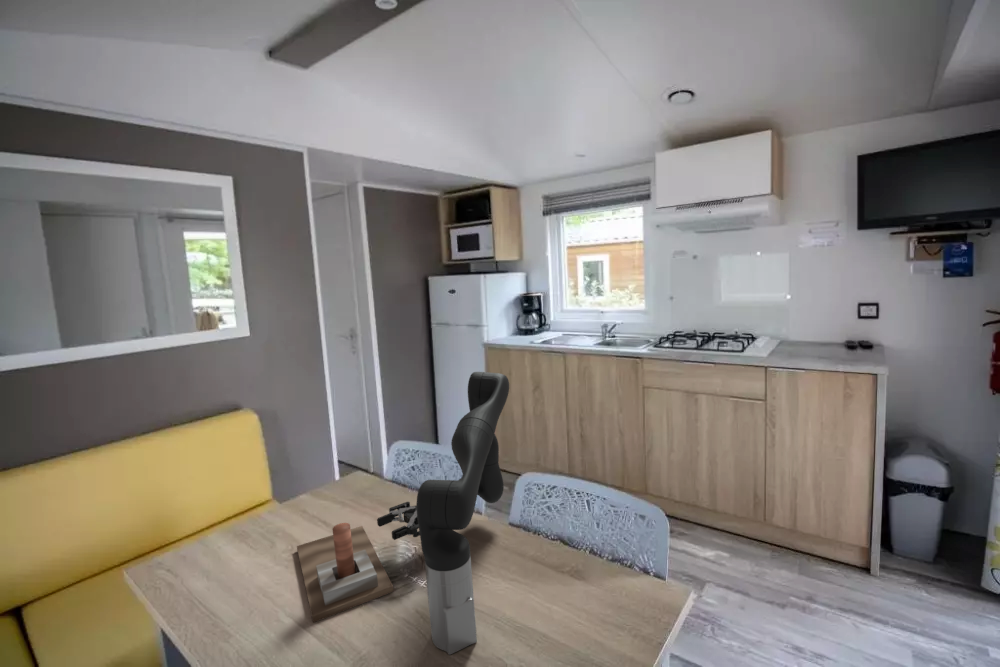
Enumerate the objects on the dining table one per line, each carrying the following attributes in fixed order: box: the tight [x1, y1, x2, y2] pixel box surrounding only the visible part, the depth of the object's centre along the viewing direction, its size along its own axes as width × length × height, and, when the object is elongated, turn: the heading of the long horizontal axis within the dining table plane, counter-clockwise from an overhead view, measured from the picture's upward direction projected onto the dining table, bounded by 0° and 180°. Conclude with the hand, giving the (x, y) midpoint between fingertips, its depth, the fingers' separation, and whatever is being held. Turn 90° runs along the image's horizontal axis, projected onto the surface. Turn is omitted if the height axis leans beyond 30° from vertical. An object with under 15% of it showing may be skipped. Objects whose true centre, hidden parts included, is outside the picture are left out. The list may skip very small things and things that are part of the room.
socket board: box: [296, 525, 394, 623], centre depth 121 cm, size 32×18×4 cm, turn 29°
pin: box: [332, 522, 356, 580], centre depth 113 cm, size 4×4×14 cm
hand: (385, 529), depth 120 cm, fingers open, 8 cm apart
